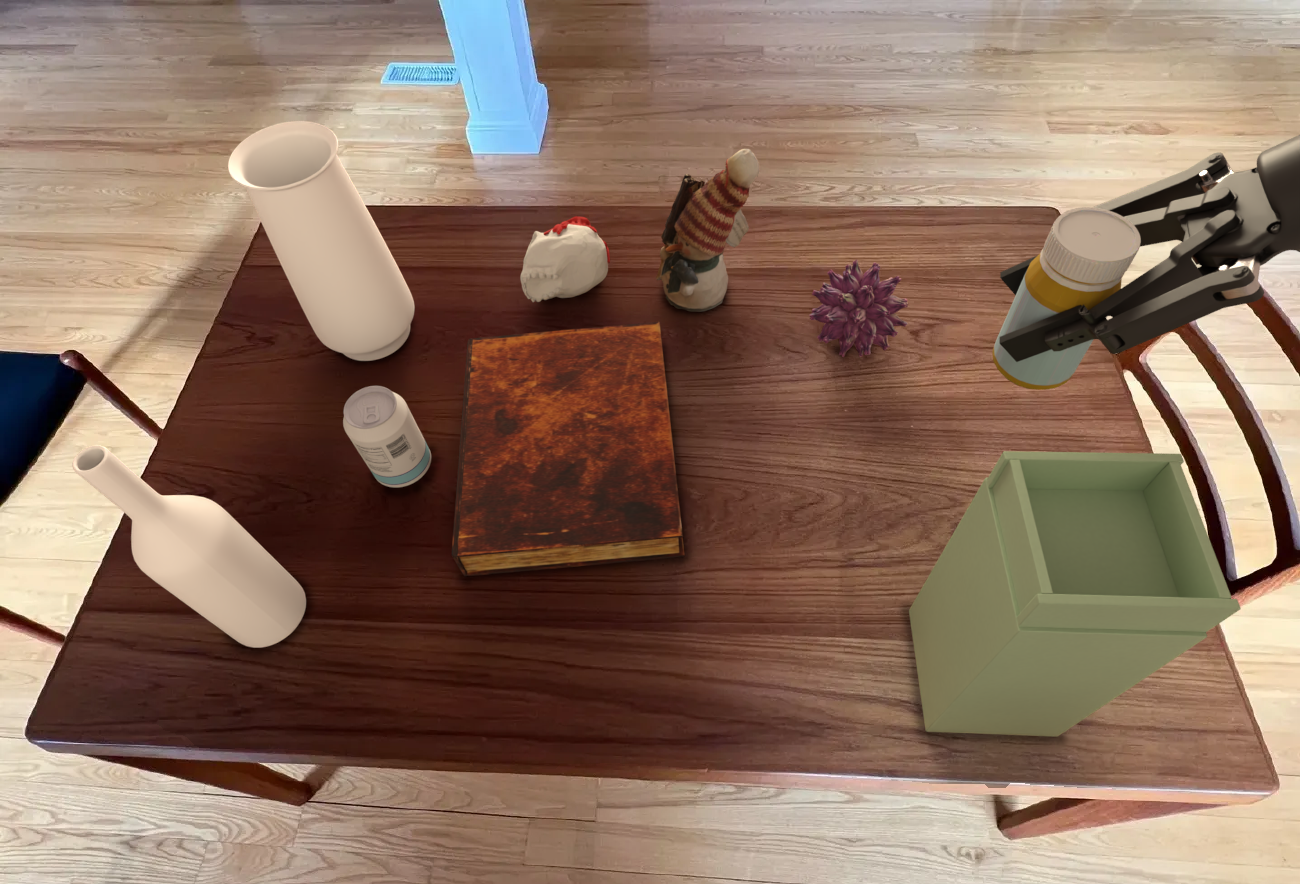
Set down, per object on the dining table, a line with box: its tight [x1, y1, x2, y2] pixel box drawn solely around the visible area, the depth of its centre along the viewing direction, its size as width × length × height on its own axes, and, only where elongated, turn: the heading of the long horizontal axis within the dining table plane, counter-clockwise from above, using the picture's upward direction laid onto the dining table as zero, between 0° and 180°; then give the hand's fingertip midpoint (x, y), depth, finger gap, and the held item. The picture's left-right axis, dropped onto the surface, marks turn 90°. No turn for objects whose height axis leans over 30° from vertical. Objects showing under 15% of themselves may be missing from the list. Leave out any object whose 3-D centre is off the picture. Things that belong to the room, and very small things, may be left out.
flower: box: [808, 259, 909, 358], centre depth 96 cm, size 12×12×12 cm
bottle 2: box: [991, 206, 1141, 391], centre depth 65 cm, size 7×7×15 cm
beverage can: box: [342, 385, 432, 488], centre depth 89 cm, size 7×7×12 cm
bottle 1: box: [71, 444, 307, 649], centre depth 72 cm, size 8×8×30 cm
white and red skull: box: [519, 215, 611, 303], centre depth 106 cm, size 9×11×15 cm
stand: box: [908, 450, 1242, 738], centre depth 64 cm, size 12×12×30 cm
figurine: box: [655, 148, 760, 313], centre depth 99 cm, size 13×12×20 cm
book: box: [451, 321, 686, 577], centre depth 91 cm, size 30×24×5 cm
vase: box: [227, 120, 416, 362], centre depth 94 cm, size 13×13×28 cm
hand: (1008, 315), depth 68 cm, fingers closed on bottle 2, 7 cm apart
